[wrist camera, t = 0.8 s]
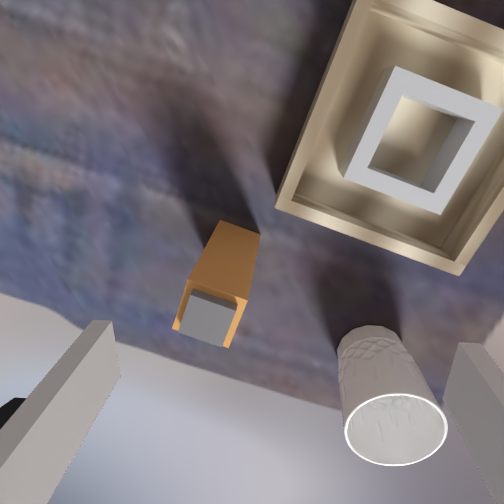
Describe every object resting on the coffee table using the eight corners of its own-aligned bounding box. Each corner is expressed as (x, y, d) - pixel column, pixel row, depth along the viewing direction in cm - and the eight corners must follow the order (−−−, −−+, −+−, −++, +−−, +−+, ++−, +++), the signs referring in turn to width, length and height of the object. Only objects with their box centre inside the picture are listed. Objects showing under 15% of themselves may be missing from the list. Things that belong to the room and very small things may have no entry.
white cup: (327, 377, 40) (338, 461, 31) (335, 316, 37) (351, 389, 28) (401, 383, 40) (435, 470, 30) (416, 321, 37) (459, 398, 27)
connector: (207, 256, 36) (168, 335, 24) (220, 219, 34) (184, 285, 22) (246, 270, 36) (226, 355, 24) (260, 234, 34) (246, 307, 23)
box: (276, 195, 33) (274, 207, 29) (356, -11, 26) (367, -27, 23) (440, 256, 34) (459, 276, 30) (556, 72, 27) (598, 68, 24)
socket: (338, 170, 30) (343, 178, 28) (384, 68, 27) (395, 65, 25) (426, 204, 31) (440, 215, 28) (482, 107, 28) (504, 109, 25)
